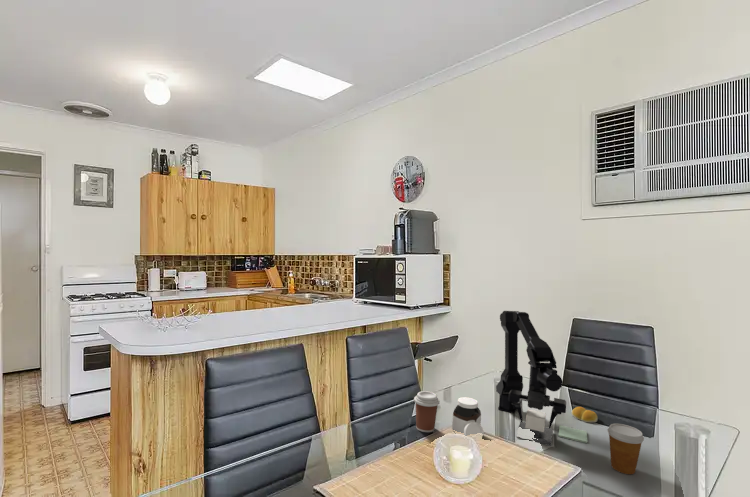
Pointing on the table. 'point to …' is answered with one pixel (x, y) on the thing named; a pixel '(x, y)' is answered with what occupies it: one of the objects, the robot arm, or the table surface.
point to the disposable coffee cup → (624, 447)
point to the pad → (573, 434)
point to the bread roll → (584, 415)
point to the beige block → (535, 420)
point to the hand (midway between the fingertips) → (535, 424)
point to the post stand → (540, 434)
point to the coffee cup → (426, 410)
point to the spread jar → (467, 417)
